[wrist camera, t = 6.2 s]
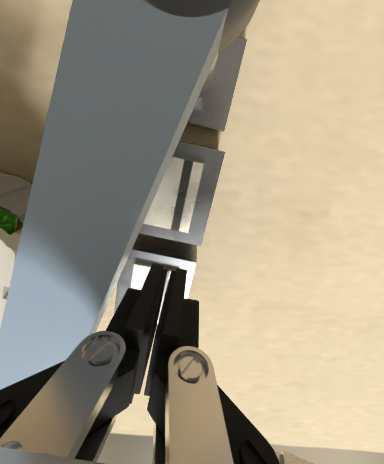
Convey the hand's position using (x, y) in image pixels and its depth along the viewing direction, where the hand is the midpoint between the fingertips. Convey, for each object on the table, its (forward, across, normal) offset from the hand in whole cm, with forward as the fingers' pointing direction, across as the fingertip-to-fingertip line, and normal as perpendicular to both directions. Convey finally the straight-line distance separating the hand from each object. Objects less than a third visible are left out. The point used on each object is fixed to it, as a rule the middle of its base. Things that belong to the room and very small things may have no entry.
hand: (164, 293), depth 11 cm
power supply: (+12, +1, -3) cm, 12 cm away
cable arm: (0, +3, -2) cm, 4 cm away
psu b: (+12, +1, +5) cm, 13 cm away
